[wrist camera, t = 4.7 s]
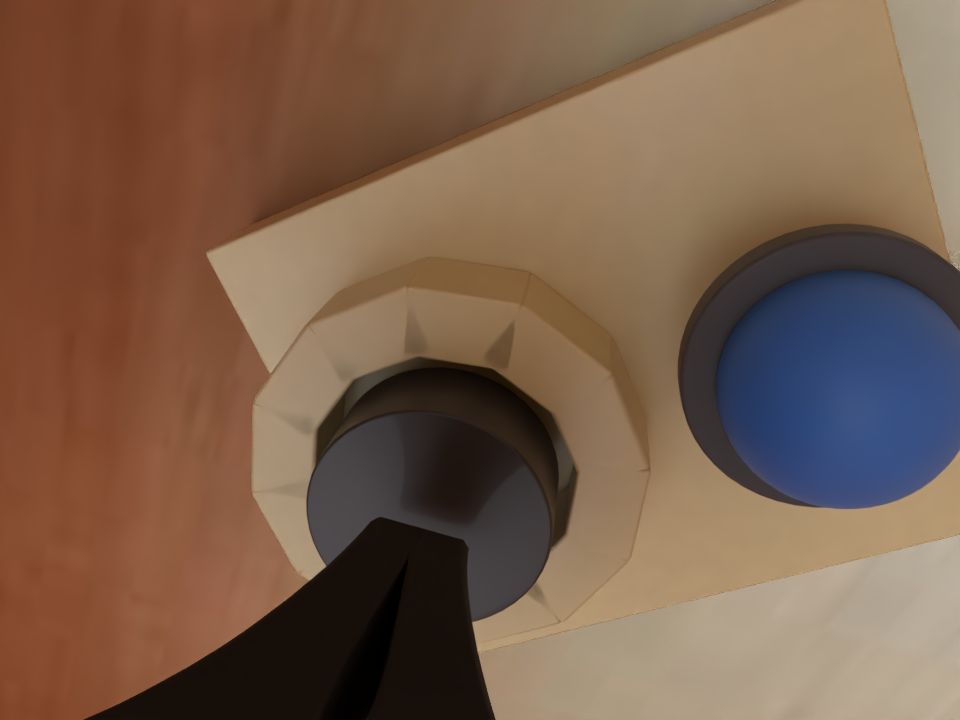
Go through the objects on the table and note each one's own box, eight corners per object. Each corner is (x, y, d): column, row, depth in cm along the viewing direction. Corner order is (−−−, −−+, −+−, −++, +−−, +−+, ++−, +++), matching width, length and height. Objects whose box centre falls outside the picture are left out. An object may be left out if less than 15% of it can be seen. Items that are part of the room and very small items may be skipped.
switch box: (426, 607, 21) (387, 735, 17) (231, 232, 18) (133, 290, 14) (968, 463, 17) (1063, 583, 14) (840, -27, 14) (919, -40, 11)
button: (394, 586, 16) (370, 649, 15) (298, 408, 15) (262, 454, 13) (592, 531, 15) (589, 593, 14) (506, 334, 14) (493, 377, 12)
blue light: (720, 494, 15) (749, 622, 12) (636, 268, 14) (644, 346, 11) (988, 421, 14) (1098, 540, 11) (924, 165, 12) (1029, 219, 9)
